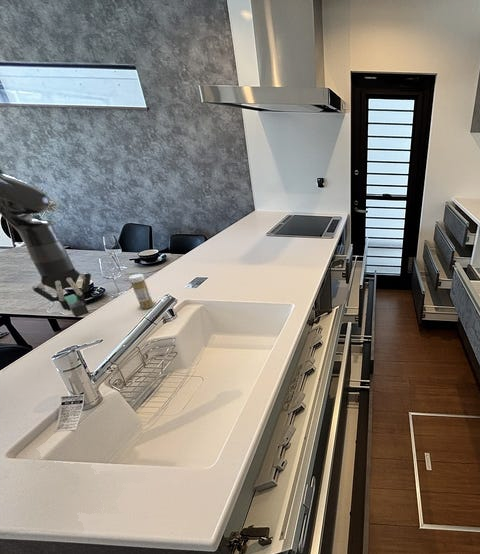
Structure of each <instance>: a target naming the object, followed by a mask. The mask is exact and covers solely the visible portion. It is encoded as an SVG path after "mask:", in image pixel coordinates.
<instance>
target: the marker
mask: <svg viewBox="0 0 480 554" xmlns="http://www.w3.org/2000/svg"><path fill="white" fill-rule="evenodd" d="M64 298H65V299H66V301H67V303H68V306H69V307H70V309H71V310H70V312H71V314H72V315H73V317H75V318H79V317H82V316H85V315H87V314H89V313H90V311H89V310H88V307H87V305H86V304H84V303H83V302H82V301H80V300H79V299H78V298H77V297H76V294H74V293H71V294H69V295H66V296H65V295H64Z"/></svg>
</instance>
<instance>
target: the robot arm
mask: <svg viewBox="0 0 480 554" xmlns="http://www.w3.org/2000/svg"><path fill="white" fill-rule="evenodd" d="M50 206H51V203H50V199H49V197H48V196H47V194H46V193H44V192H43V191H42V190H41V189H40V188H38V187H37V186H34V185H33V184H30V183H28V182H25V181H22V180H20V179H17V178H15V177H13V176H9V175H6V174H4V173H1V172H0V215H1V216H2V217H3V218H4V220H6V221H7V223H9V224H10V226H11V227H13V228H14V230H16V231H17V233H18V234H19V236H20V238H21V240H22V242H23V244H24V245H25V247H26V250H27V253H28V255H29V257H30V260H31V261H32V262H33V264H34V267H35V268H36V270H37V272H38V274H39V276H40V277H41V278H40V283H38V284H37V285H32V286H31V288H32V290H33V291H34V292H35V293H36V294H38V295H40V296H41V297H43V298H45V299H46V300H47V301H50V302H52V303H54V302H59V303H60V305H61V307H62V309H63V310H65V311H68V312H71V309H70V307H69V306H68V303H67V301H66V299H65V298H64V297H65V295H64V290H65V289H69V288H70V289H72V290H73V292H74V293H75V296H76V297H77V298H78V299H79V300H80V301H82V302H83V303H84V304H85V305H86V304H87V300H86V299H85V297H84V294H85V293H87V292H89V290H90V284H91V278H92V275H91V273H90V272H88V271H85V272H79V271H78V270H77V269H76V268H75V266H74V263H73V262H72V260H71V258H70V256H69V254H68V251H67V250H66V248H65V246H64V244H63V243H62V241H61V240H60V238H59V236H58V234H57V232H56V229H55V228H54V226H53V224H52V223H50V222H49V221H47V220H40V219H38V218H35V217H34V216H33V215H34V214H36V215H37V214H41V213H44V212H46V211H48V209H50ZM79 277H80V279H81V280H82V283H81V288H79V287H78V285H77V282H78V280H79ZM45 286H46V287H48V288H50V289H53V290H54V292H55V294H56V295H52V294H51V293H50V292H48V291H46V287H45Z"/></svg>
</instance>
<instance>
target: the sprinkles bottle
mask: <svg viewBox="0 0 480 554" xmlns="http://www.w3.org/2000/svg"><path fill="white" fill-rule="evenodd" d="M128 280H129V283H130V284H131V286H132V289H133V292H134V295H135V296H136V299H137V302H138V304H139V306H140V309H143V310H145V309H150V308H152V307H153V306H154V305H155V303H154V301H153V298H152V295H151V293H150V290H149V288H148V286H147V283H146V281H145V276H144V274H142V273H136V274H132V275H129V277H128Z"/></svg>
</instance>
